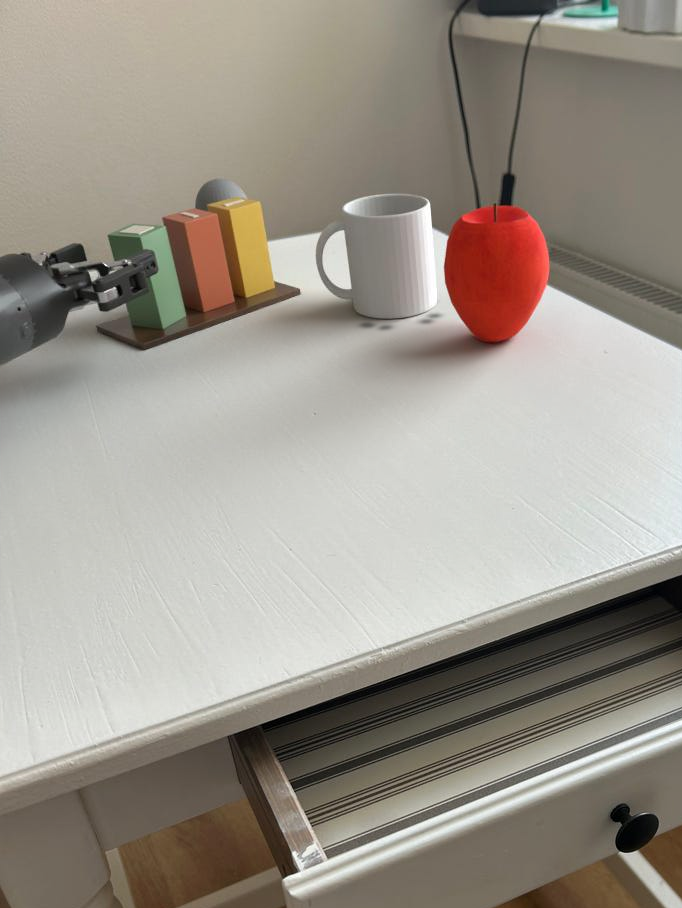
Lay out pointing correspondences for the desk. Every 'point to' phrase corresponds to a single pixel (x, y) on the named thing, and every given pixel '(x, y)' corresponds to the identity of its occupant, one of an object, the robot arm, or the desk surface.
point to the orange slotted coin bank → (199, 259)
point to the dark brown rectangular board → (193, 319)
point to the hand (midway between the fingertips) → (117, 256)
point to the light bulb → (217, 193)
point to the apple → (496, 270)
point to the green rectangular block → (164, 288)
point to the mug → (386, 255)
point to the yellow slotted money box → (244, 245)
